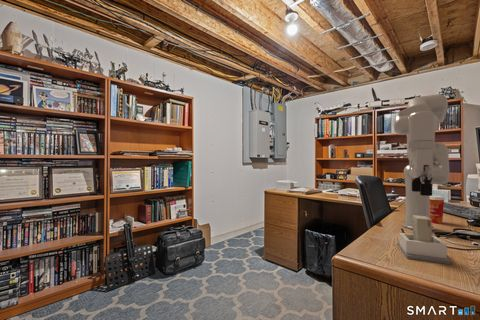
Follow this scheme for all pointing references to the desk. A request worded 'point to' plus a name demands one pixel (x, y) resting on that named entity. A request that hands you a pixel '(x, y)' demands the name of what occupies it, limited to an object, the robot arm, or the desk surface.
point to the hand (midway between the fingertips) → (421, 193)
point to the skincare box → (422, 228)
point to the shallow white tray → (423, 249)
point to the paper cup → (436, 209)
